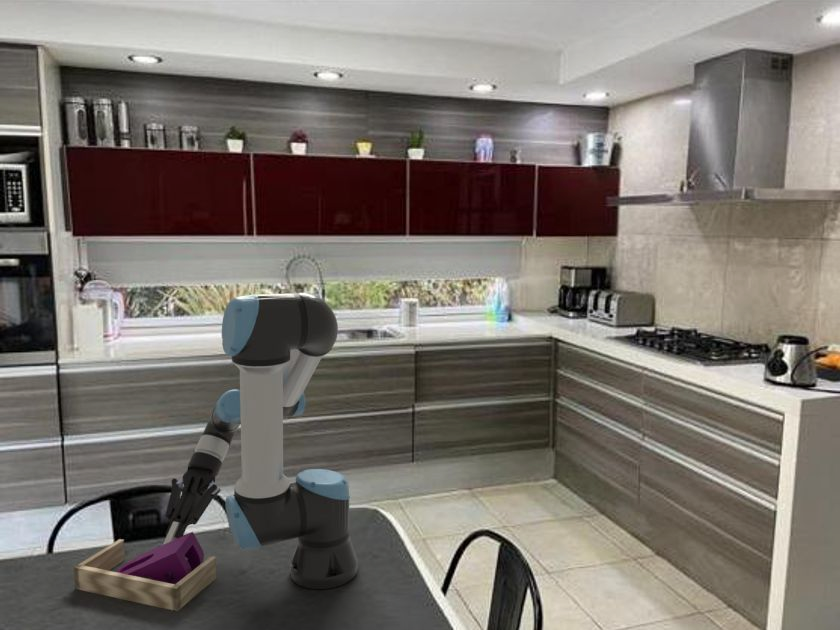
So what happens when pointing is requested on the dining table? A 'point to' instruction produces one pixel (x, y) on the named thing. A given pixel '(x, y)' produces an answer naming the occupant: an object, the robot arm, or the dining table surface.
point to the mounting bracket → (167, 560)
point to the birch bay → (139, 580)
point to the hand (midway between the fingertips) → (166, 551)
